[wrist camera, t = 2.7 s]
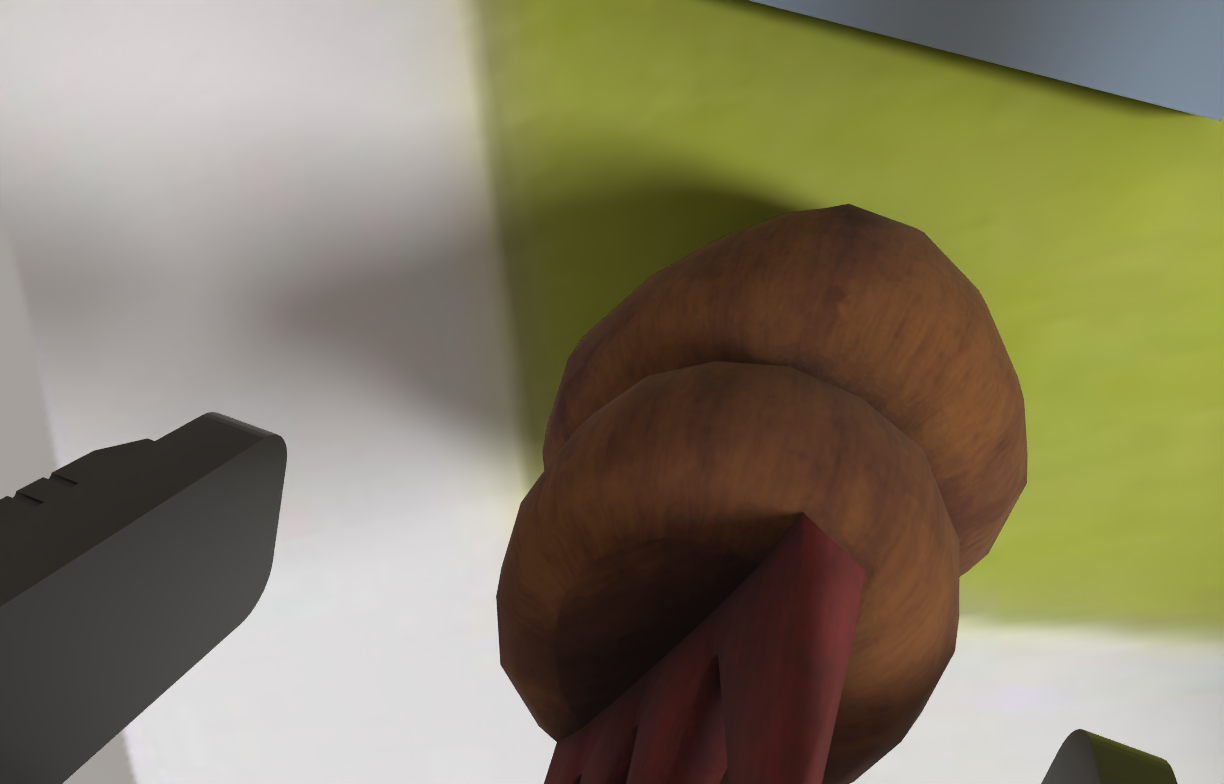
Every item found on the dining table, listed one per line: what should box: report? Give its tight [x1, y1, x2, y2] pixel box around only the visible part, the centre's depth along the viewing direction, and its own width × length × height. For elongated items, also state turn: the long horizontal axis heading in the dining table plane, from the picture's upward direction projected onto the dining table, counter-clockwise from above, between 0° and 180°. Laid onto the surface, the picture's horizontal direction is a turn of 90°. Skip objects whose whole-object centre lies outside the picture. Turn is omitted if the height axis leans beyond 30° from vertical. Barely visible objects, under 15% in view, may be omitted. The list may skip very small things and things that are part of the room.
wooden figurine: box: [496, 204, 1027, 784], centre depth 13 cm, size 7×6×15 cm
